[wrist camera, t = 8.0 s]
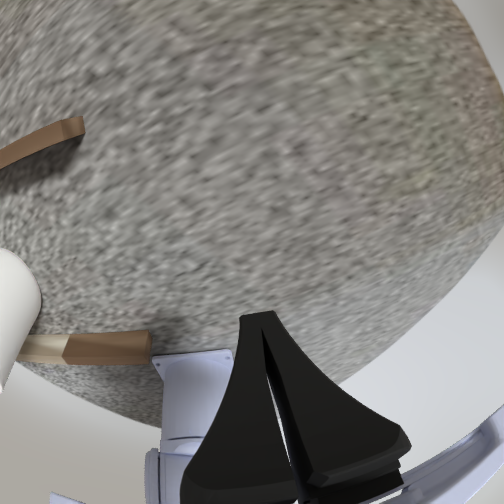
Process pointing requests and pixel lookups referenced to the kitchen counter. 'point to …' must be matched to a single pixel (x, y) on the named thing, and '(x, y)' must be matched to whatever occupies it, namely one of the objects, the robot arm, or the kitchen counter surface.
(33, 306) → the cup
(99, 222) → the kitchen counter surface
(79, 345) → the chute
